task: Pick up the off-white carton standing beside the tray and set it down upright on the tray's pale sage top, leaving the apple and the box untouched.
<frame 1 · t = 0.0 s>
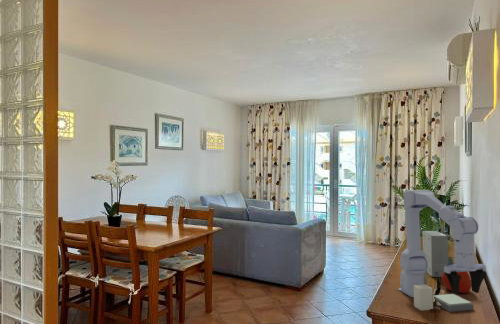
hand: (465, 292, 119), 10 cm above the table, tool pointing down, fingers open, 7 cm apart
tray: (451, 305, 134), on the table
box: (419, 286, 156), on the table
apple: (456, 291, 150), on the table
carton: (423, 307, 132), on the table
hard drive box: (435, 273, 175), on the table
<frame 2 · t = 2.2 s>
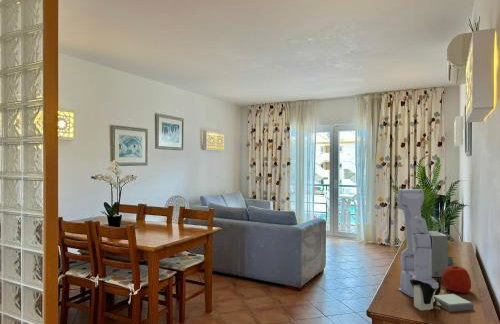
hand: (423, 301, 132), 2 cm above the table, tool pointing down, fingers closed on carton, 4 cm apart
carton: (423, 307, 132), on the table, touching gripper
everything else where it was.
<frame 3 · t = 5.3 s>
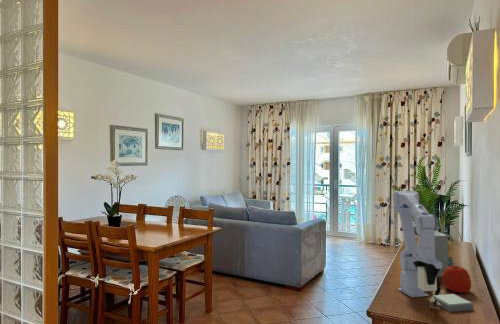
hand: (427, 282, 132), 9 cm above the table, tool pointing down, fingers closed on carton, 4 cm apart
carton: (427, 288, 132), point 7 cm above the table, touching gripper
everything else where it was.
when the fingers open (6 cm above the table, at t = 8.3 s): carton stays where it is, resting on tray.
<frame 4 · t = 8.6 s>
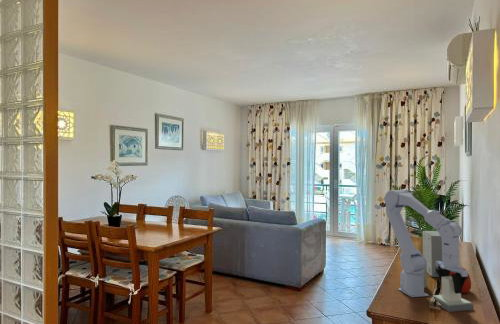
hand: (451, 289, 134), 6 cm above the table, tool pointing down, fingers open, 6 cm apart
carton: (451, 298, 134), point 2 cm above the table, touching tray
everything else where it was.
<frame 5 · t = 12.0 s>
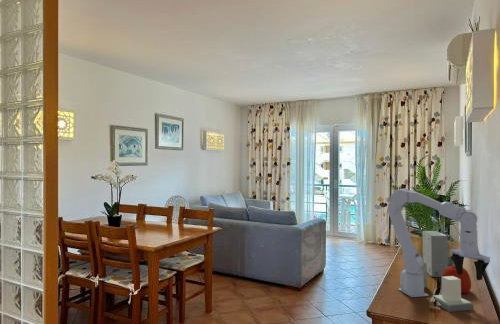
hand: (469, 276, 135), 10 cm above the table, tool pointing down, fingers open, 7 cm apart
nothing on the table moved.
at the end: carton 0.1 cm off-centre on the tray, point 2.5 cm above the tray's base; carton tilted 0°; the gripper is holding nothing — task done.
